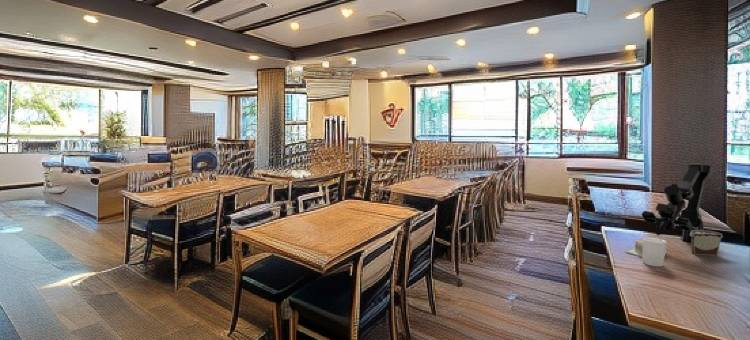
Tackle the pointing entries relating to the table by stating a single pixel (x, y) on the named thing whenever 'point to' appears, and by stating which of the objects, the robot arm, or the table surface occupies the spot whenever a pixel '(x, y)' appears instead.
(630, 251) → the rubber mat
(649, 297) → the table surface
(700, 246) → the food container
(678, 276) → the table surface
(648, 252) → the white cup
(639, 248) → the walnut block
